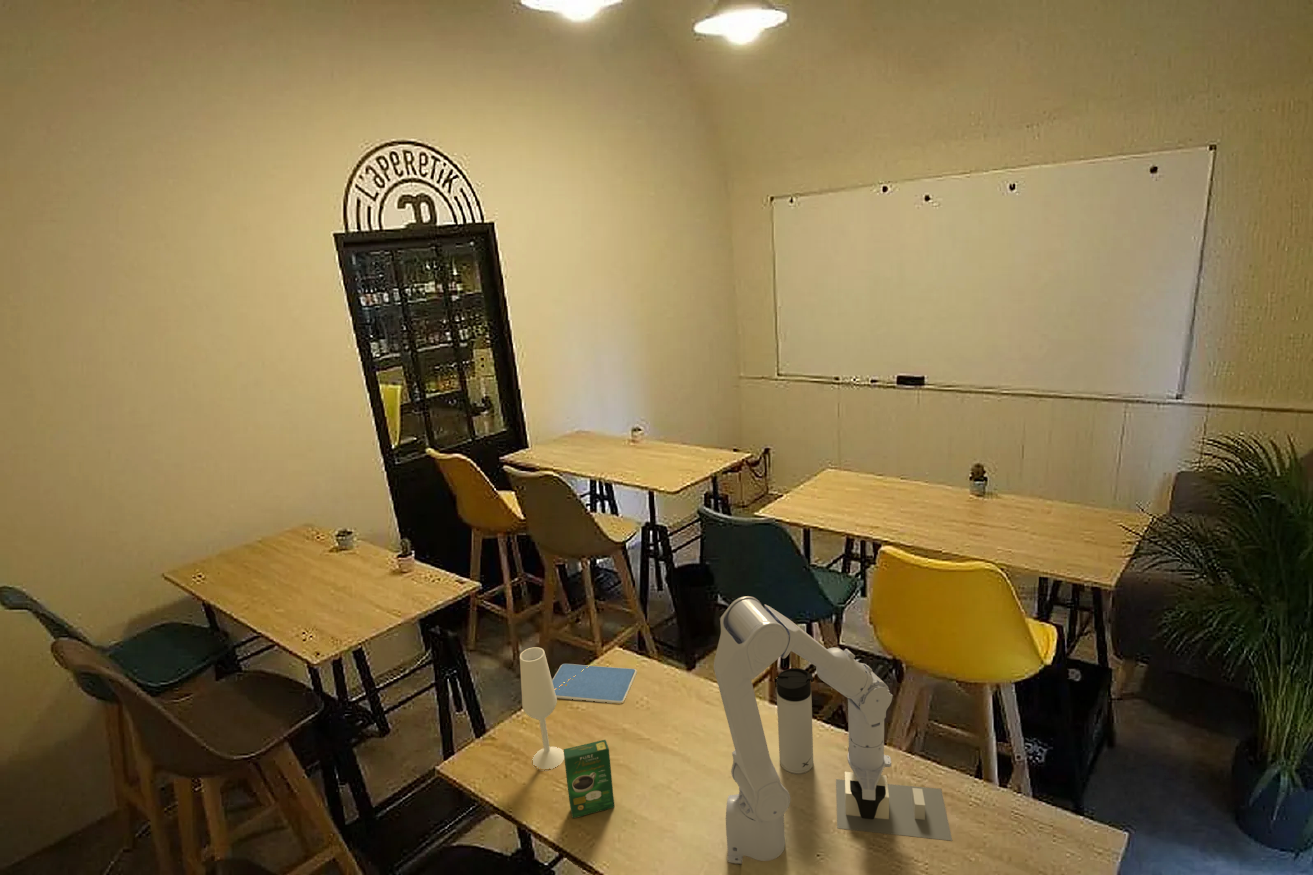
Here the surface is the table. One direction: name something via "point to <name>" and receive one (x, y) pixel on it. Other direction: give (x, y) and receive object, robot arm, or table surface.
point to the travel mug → (795, 720)
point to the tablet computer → (593, 683)
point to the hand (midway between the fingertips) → (866, 801)
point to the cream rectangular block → (852, 803)
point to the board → (901, 813)
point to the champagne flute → (539, 702)
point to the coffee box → (589, 778)
